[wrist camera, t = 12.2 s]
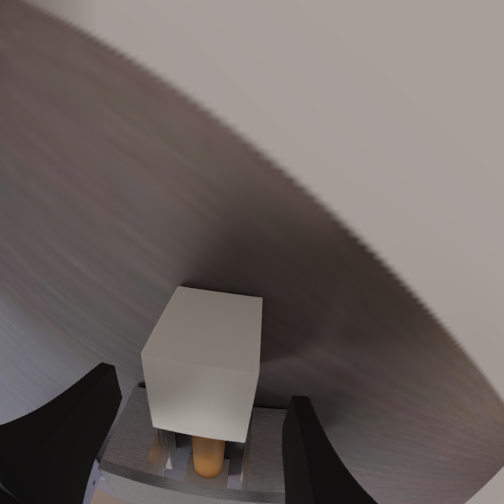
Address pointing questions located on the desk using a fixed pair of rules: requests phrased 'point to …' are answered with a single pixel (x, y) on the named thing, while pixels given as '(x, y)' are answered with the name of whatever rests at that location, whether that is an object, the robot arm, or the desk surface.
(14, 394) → the desk surface
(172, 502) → the housing
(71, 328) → the desk surface
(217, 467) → the plug
